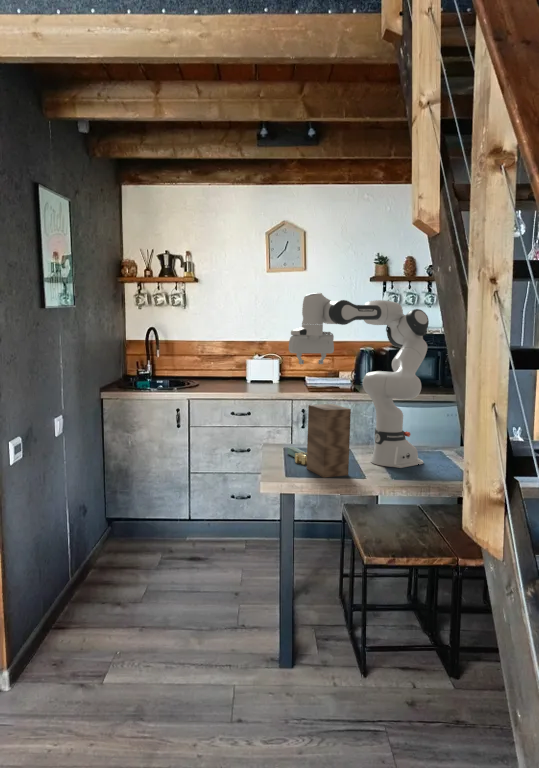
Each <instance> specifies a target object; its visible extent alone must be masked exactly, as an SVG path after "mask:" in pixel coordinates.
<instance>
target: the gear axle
mask: <svg viewBox="0 0 539 768" xmlns="http://www.w3.org/2000/svg"><path fill="white" fill-rule="evenodd" d="M287 455H290V456H291V457H293V458H294V461H295V462H294V463H296V464H300V465H305V466H306V465H307V451H306V452H305V451H304V450H301V449H299V448H298V447H295V446H287Z"/></svg>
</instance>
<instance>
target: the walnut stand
mask: <svg viewBox="0 0 539 768" xmlns="http://www.w3.org/2000/svg"><path fill="white" fill-rule="evenodd" d="M307 406H308V408H307V409H308V410H307V415H308V416H307V441H306V442H307V444H306V452H307V464H306V470H309V471H310V472H312V473H314V474H316V475H318V476H320V477H321V478H324V479H325V478H333V477H335V478H336V477H344V476H349V470H350V469H349V466H350V441H351V436H350V435H351V414H352V411H351V408H349V407H345V406H342V405H338V404H335V403H322V404H308V405H307Z"/></svg>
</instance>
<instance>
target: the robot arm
mask: <svg viewBox="0 0 539 768" xmlns="http://www.w3.org/2000/svg"><path fill="white" fill-rule="evenodd" d="M301 311H302V312H301V315H302V323H301V326H300V327H298V328H295V329H292V330H290V335H291V336H290V337H289V342H288V352H289V353H290V354H296V357H297V360H298V364H299V365H304V364H305V363H304V361H305V360H304V359H302V355H303V354H320V359H318V362H317V363H318V365H324V362H325V361H324V360H325V359H326V357H327V354H333V353H334V351H335V343H334V333H332V332H331V331H324V329H323V328H324V327H323V326H324V324H325V325H341V326H343V325H348V324H350V323H352V322H354V321H364V322H365V323H366V324H367V325H373V326H385V332H386V335H387V337H386V338H387V340H388V341H389V343H390V344H391V345H392V346H394V347H396V348H400V349H399V350H398V351H397V353H396V355H394V357H393V359H392V361H391V369H392V371H384V370H383V371H382V370H376V371H369V372H367V373H366V374H365V375H364V377H363V379H362V388H363V390H364V392H365V393H366V394H367V395H368V396H369V398H370V399H371V401H372V404H373V405H374V409H375V414H376V415H375V417H376V418H375V419H376V420H375V421H376V422H375V423H376V425H375V426H376V427H375V429H374V448H373V453H372V456H371V459H370V462H371V463H372V464H375V465H378V466H381V467H382V466H383V467H391V468H399V469H402V468H407V467H413V466H417V465H418V464H419V465H423V464H424V460H422V459H421V458H419V453H418V449H417V447H415V446H414V445H413V444H412V443H411V442H409V441H408V440H407V439H406V437H408V438H409V437H410V436H411V432H409V431H404V430H403V426H404V413H403V411H402V410H401V408H399V407H398V406H397V405H395V404H396V403H395V402H394V400H393V399H396V400H413V399H416V398H417V397H418V396H419V395H420V393H421V390H422V382H421V379H420V378H419V377H418V376H417V375H416V373H417V371H418V369H419V368H420V366H421V364H422V363H423V361H424V359H425V357H426V354H427V351H428V344H427V342H426V341H425V340H424V337H425V336H426V335H427V333H428V328H429V324H430V323H429V321H430V320H429V316H428V315H427V314H426V312H425V311H424V310H422V309H419V308H415V309H412V310H410V311H408V312H407V313H406V314H404V311H403V307H402V305H400V303H399V302H396V301H391V300H386V299H385V300H384V299H382V300H381V299H380V300H379V299H376V300H375V299H374V300H369V301H366V302H365V303H364V304H356V303H352V302H351V301H349V300H347V299H342V300H331V299H329V298H327V297H326V296H325V295H323V293H321V292H312V293H311V292H310V293H307V294H306V295H304V296H303V301H302V310H301Z"/></svg>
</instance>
